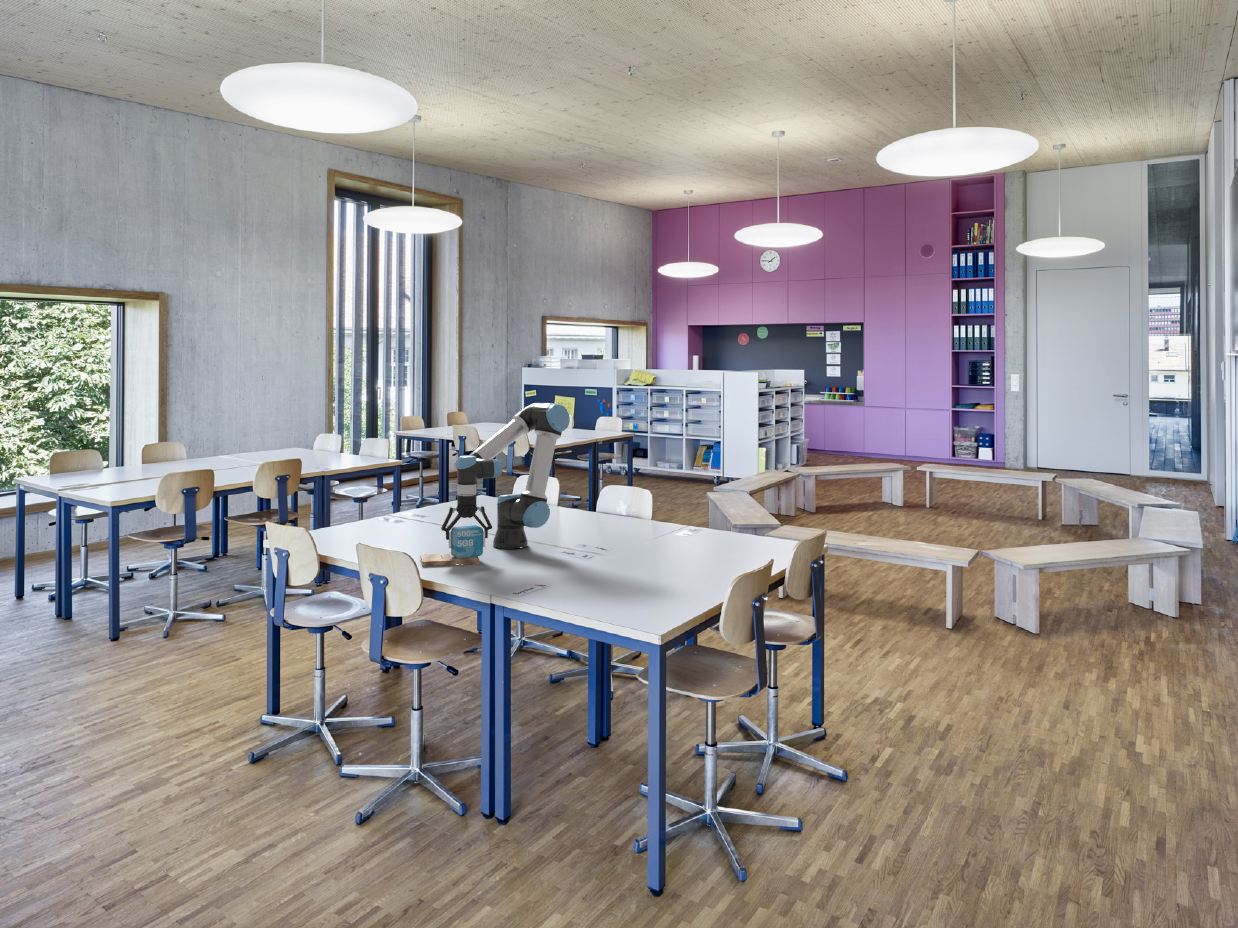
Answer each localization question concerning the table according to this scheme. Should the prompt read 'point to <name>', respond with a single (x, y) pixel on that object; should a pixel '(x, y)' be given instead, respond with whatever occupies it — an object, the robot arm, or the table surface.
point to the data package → (466, 541)
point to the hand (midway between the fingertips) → (466, 547)
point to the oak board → (446, 560)
